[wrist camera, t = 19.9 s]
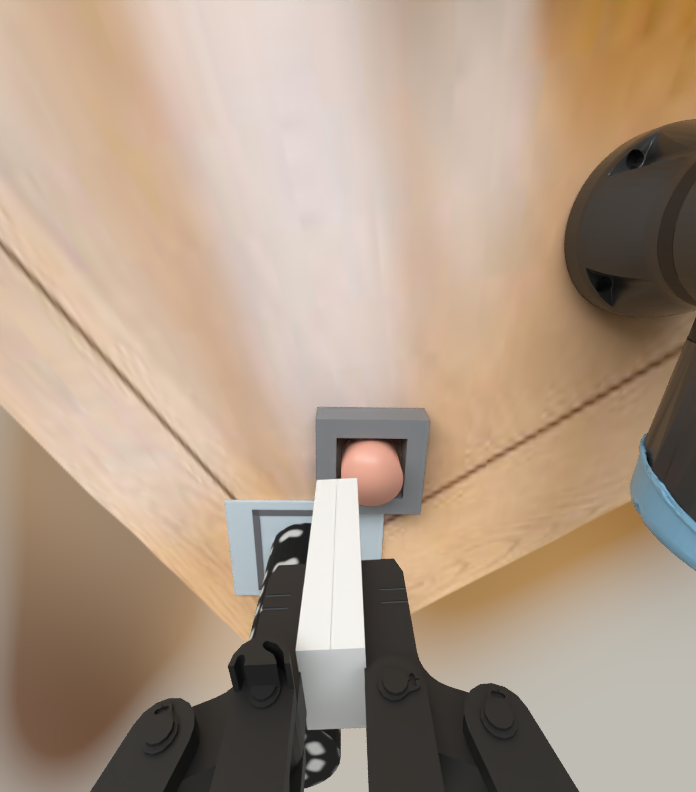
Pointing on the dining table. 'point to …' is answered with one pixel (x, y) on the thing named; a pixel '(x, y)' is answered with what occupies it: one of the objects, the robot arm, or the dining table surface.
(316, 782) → the white-spotted black cylinder
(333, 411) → the button housing
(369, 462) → the button
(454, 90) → the dining table surface
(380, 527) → the drawing pad
